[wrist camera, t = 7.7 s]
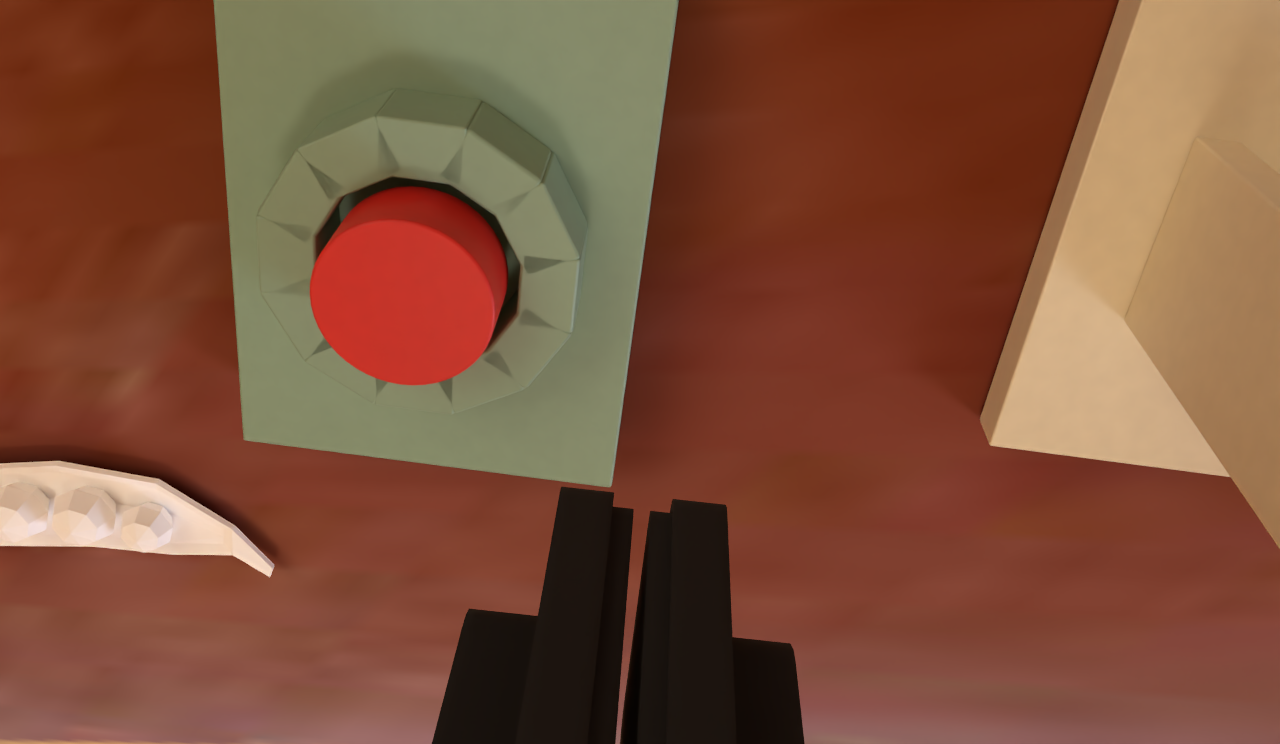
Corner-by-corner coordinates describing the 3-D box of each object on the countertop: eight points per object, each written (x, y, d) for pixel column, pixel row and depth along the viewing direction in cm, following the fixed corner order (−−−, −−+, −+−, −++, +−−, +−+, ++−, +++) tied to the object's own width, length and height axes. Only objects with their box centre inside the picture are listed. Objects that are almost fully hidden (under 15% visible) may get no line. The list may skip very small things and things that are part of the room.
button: (332, 173, 22) (305, 207, 21) (514, 197, 22) (500, 233, 21) (335, 332, 24) (310, 374, 23) (503, 354, 24) (489, 397, 23)
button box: (247, -101, 23) (167, -66, 20) (683, -40, 23) (679, 5, 20) (272, 393, 29) (214, 485, 26) (617, 438, 29) (605, 535, 26)
